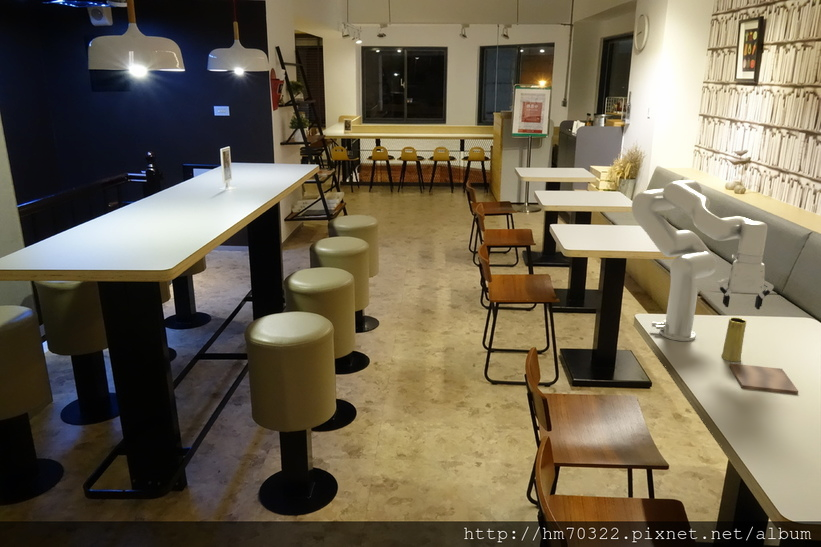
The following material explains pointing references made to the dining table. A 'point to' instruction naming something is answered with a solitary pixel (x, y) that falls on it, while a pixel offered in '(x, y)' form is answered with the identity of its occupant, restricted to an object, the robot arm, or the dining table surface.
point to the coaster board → (763, 378)
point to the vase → (734, 339)
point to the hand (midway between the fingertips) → (741, 307)
